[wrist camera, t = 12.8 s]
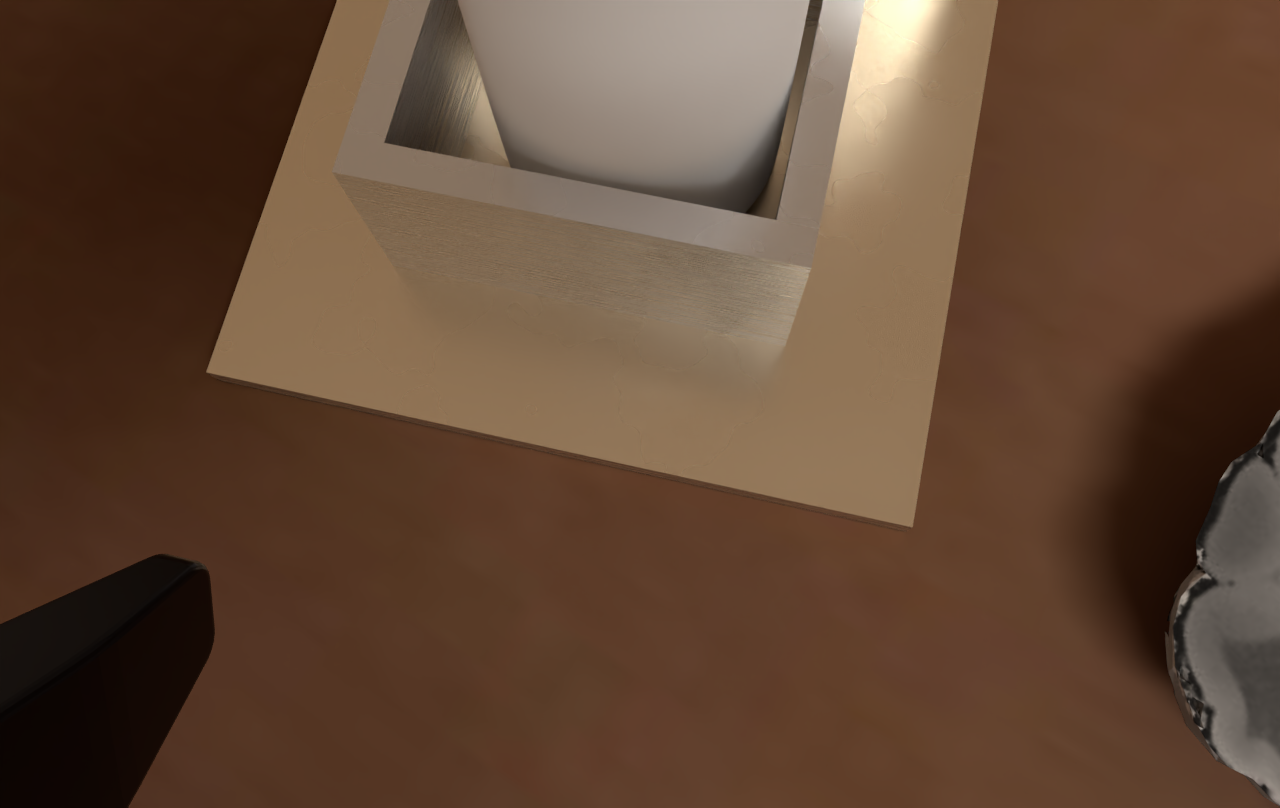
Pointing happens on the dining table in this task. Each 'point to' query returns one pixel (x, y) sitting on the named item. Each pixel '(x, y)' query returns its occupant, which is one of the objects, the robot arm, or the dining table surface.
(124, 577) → the robot arm
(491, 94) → the can
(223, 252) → the dining table surface
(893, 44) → the cup bracket
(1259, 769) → the brain slice
